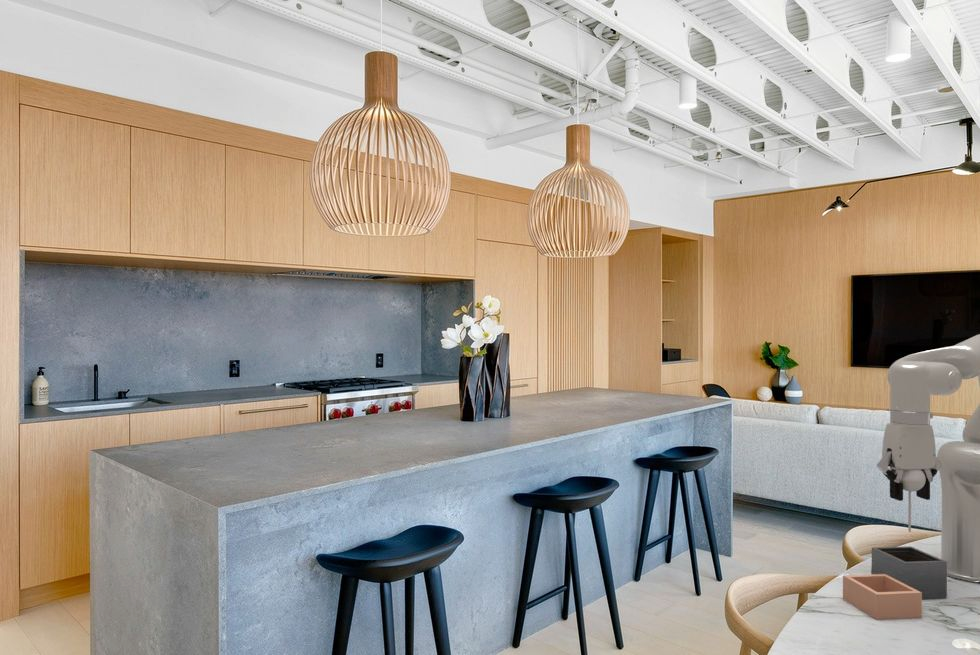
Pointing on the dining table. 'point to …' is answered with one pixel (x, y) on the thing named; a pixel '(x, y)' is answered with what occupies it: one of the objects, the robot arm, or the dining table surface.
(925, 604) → the dining table surface
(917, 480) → the lollipop
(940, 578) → the box
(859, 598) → the tool holder
